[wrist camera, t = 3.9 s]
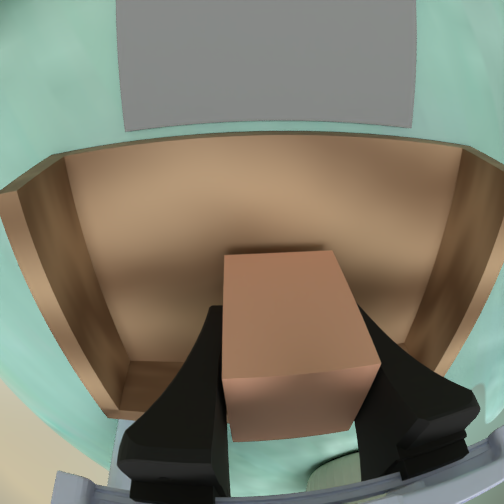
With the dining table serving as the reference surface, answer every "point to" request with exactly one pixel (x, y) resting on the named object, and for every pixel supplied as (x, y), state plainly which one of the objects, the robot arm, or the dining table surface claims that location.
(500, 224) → the crate
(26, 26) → the dining table surface
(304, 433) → the block
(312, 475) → the canister
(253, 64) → the mat
